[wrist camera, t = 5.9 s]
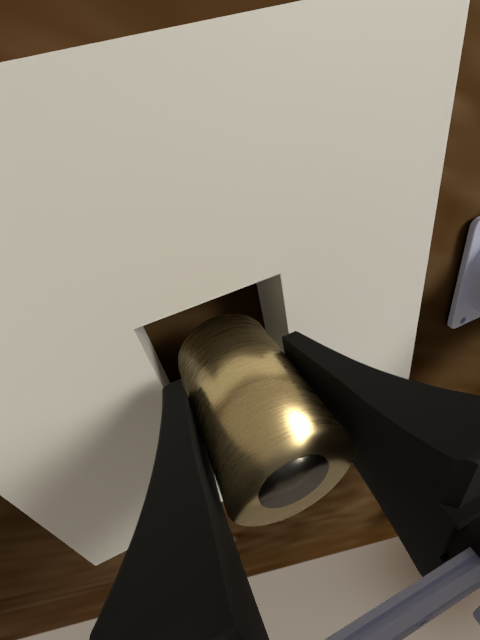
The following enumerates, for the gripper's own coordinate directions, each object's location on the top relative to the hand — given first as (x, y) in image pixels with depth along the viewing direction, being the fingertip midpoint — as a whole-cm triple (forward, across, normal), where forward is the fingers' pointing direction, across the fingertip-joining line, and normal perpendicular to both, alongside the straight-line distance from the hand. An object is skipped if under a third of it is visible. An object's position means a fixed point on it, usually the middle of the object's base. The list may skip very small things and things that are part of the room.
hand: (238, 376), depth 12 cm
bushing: (+2, 0, 0) cm, 2 cm away
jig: (+4, 0, 0) cm, 4 cm away
